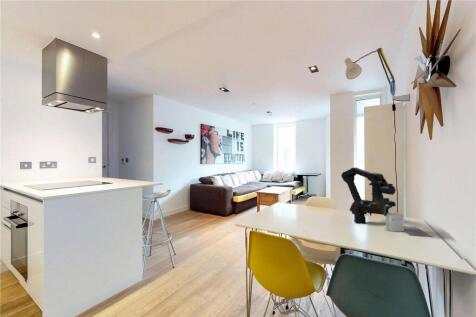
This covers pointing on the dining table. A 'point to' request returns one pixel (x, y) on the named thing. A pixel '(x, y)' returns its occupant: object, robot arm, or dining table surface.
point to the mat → (415, 231)
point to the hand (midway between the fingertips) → (377, 215)
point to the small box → (394, 222)
